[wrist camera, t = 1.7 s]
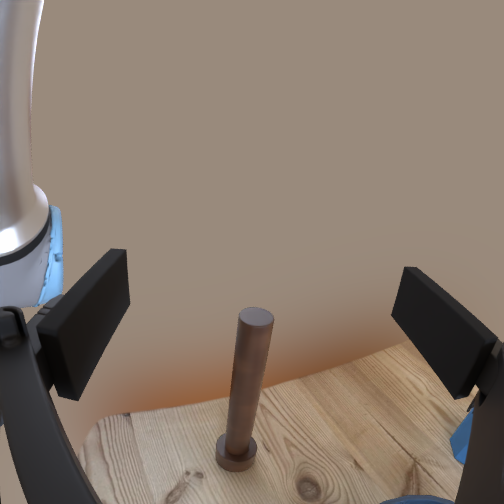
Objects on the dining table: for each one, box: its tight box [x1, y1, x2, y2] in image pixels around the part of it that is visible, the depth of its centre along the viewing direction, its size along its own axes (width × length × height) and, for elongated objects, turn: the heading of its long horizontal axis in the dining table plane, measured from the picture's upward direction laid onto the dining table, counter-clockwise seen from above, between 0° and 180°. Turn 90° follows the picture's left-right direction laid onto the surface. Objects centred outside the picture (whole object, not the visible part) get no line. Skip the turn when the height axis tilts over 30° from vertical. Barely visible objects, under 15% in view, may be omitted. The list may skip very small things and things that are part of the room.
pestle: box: [216, 307, 274, 472], centre depth 27 cm, size 4×4×20 cm
